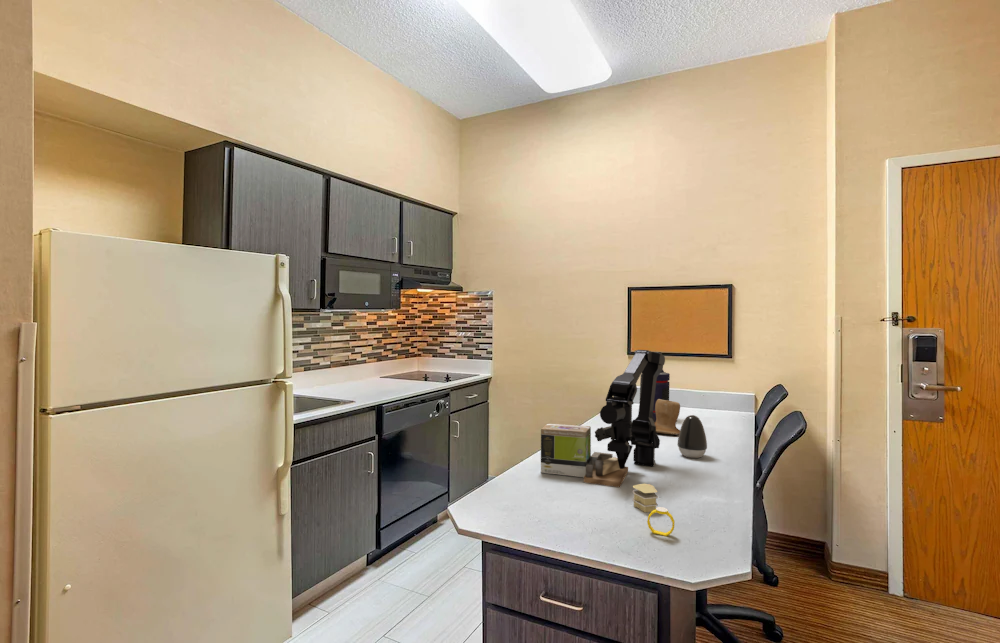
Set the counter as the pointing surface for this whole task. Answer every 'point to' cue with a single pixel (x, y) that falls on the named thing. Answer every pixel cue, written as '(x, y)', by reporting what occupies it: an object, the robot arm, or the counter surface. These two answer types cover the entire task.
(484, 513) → the counter surface
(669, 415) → the tan boot
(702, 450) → the dark egg shaped device
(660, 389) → the dark blue tall bottle
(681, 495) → the counter surface
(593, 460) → the corner bracket
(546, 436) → the tea box
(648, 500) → the stacked layers on plate
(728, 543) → the counter surface
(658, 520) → the counter surface
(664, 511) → the watch
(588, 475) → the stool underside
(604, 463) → the oak leg
